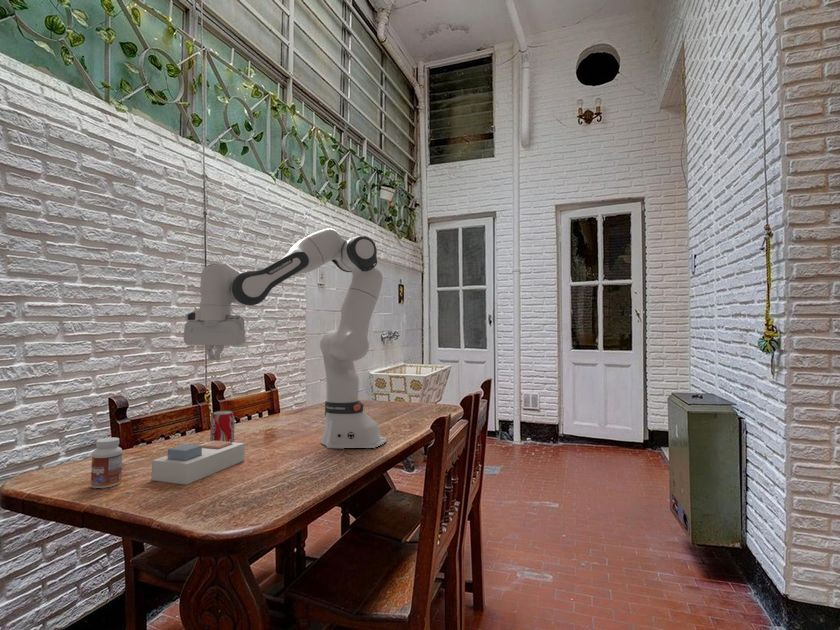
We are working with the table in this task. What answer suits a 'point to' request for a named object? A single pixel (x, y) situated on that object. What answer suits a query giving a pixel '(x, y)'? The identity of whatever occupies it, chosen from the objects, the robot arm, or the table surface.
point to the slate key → (184, 452)
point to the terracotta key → (217, 444)
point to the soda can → (222, 426)
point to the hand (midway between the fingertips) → (214, 360)
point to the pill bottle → (106, 463)
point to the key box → (197, 464)
